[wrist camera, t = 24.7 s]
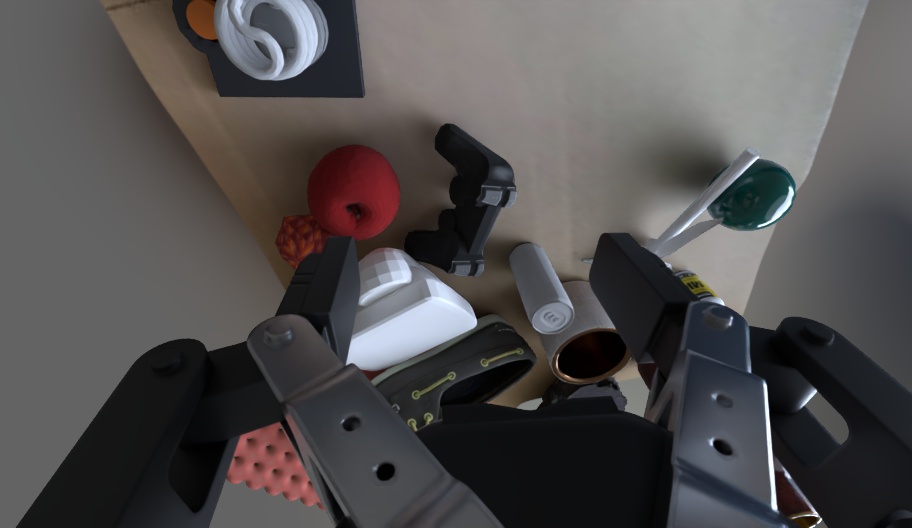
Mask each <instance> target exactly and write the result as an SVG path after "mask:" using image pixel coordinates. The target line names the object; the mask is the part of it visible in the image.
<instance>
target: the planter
mask: <svg viewBox="0 0 912 528" xmlns="http://www.w3.org/2000/svg"><path fill="white" fill-rule="evenodd" d="M561 284H562V286H563V288H564V290H565V292H566V294H567V296H568V298H569V300H570V302H571V304H572V306H573V311H574V319H573V321H572V323H571V324H570V325H569V326H568V327H567V328H566V329H564V330H563V331H561V332H558V333H554V334H543V333H540V332H538V331H537V333H538V336H539V339H540V341H541V344H542V346H543V349H544V351H545V354H546V356H547V359H548V362H549V364H550V367H551V370H552V372H553V373H554V375H555V376H556V377H557V378H559V379H560V380H562V381H565V382H568V383H572V384H588V383H594V382H598V381H601V380H604V379H606V378H608V377H610V376H612V375H614V374H616V373H617V372H618V371H620V370H621V369H622V368H623V367H624V366H625V365H626V364H627V363H628V362H629V361H630V359H631V357H632V354H631V352H630V351H629V349H628V348H627V346H626V344H625V343H624V341H623V340H622V338H621V336H620V335H619V333H618V331H617V330H616V328H615V327H614V325H613V323H612V322H611V320H610V319H609V317H608V315H607V314H606V312H605V310H604V309H603V307H602V306H601V304H600V302H599V301H598V299H597V298H596V296H595V294H594V293H593V291H592V289H591V287H590V283H589V282H587V281H581V280H574V281H568V282H564V283H561Z"/></svg>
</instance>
